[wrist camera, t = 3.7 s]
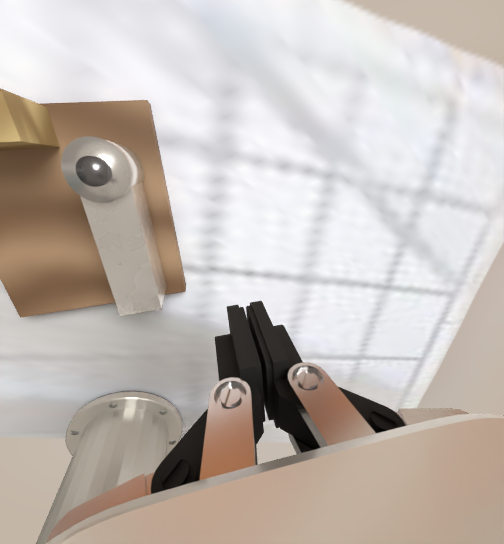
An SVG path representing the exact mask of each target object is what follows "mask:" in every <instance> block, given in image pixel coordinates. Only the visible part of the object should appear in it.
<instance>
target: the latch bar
mask: <svg viewBox="0 0 504 544" xmlns="http://www.w3.org/2000/svg"><path fill="white" fill-rule="evenodd" d="M61 168H62V172H63V175H64V178H65V179H66V181H67V183H68V184H69V186H70V187H71V188H72V189H73V190H74V191H75V192H76V193H77V194H79V195H80V197H81V200H82V203H83V206H84V209H85V212H86V215H87V218H88V221H89V224H90V227H91V230H92V233H93V236H94V239H95V242H96V245H97V248H98V251H99V254H100V257H101V260H102V263H103V266H104V269H105V272H106V275H107V278H108V281H109V284H110V287H111V290H112V293H113V296H114V299H115V302H116V305H117V308H118V311H119V314H120V316H125V315H131V314H137V313H143V312H149V311H155V310H161V309H162V305H163V301H164V296H165V292H166V287H167V286H166V282H165V278H164V274H163V269H162V265H161V261H160V256H159V252H158V248H157V243H156V239H155V235H154V231H153V226H152V222H151V218H150V213H149V209H148V205H147V200H146V196H145V192H144V187H143V183H142V182H143V179H144V170H143V166H142V163H141V161H140V159H139V158H138V156H137V155H136V154H135V153H134V152H133V151H132V150H131V149H129V148H128V147H126V146H124V145H121V144H118V143H114V142H111V141H108V140H104V139H101V138H97V137H91V136H86V137H80V138H77V139H75V140H73V141H72V142H70V143H69V144H68V145H67V146H66V148H65V149H64V151H63V154H62V158H61Z"/></svg>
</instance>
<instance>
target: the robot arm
mask: <svg viewBox="0 0 504 544" xmlns="http://www.w3.org/2000/svg"><path fill="white" fill-rule="evenodd" d="M246 311H247V318H246V315H245V311H244V308H243V307H240V308H239V306H238V305H233V306H227V312H228V320H229V328H230V334H228V335H222V336H217V337H215V344H216V354H217V363H218V373H219V382H218V383H217V384H216V385H215V386H214V387H213V389H212V390H211V393H210V397H209V405H208V409H207V410H206V411H205V412H204V414H203V415H202V416H201V417H200V418H199V419H198V420H197V422H196V423H195V424H194V425H193V426H192V427H191V429H190V430H189V431H188V432H187V433H186V434H185V435H184V437H183V438H182V439H181V440H180V438H181V432H182V420H181V417H180V414H179V412H178V411H177V409H176V408H175V407H174V406H173V405H172V404H171V403H170V402H168V401H167V400H165V399H164V398H161V397H159V396H156V395H153V394H149V393H145V392H135V391H131V392H119V393H113V394H109V395H106V396H103V397H100V398H97V399H95V400H93V401H91V402H89V403H88V404H87V405H85V406H84V407H83V408H81V409H80V410H79V411H78V412H77V413H76V415H75V416H74V418H73V419H72V421H71V423H70V425H69V427H68V430H67V432H66V444H67V448H68V450H69V451H70V453H71V455H72V456H73V457H72V459H71V462H70V464H69V466H68V469H67V471H66V474H65V476H64V478H63V481H62V483H61V486H60V488H59V490H58V493H57V495H56V497H55V500H54V503H53V505H52V507H51V509H50V512H49V514H48V516H47V519H46V521H45V524H44V526H43V529H42V531H41V533H40V535H39V538H38V540H37V543H36V544H504V415H498V414H469V413H467V412H464V411H462V410H458V409H452V408H451V409H450V408H449V409H448V408H444V409H443V408H440V409H399V410H398V412H394V411H393V410H391V409H389V408H388V407H386V406H383V405H381V404H378V403H376V402H374V401H371V400H369V399H366V398H364V397H362V396H359V395H357V394H354V393H352V392H350V391H347V390H345V389H342V388H340V387H338V386H337V385H336V384H335V383H334V382H333V381H332V379H331V378H330V377H329V376H328V374H327V373H326V372H325V371H324V370H323V369H322V368H321V367H319V366H317V365H315V364H312V363H304V362H302V360H301V358H300V356H299V354H298V352H297V350H296V348H295V347H294V345H293V343H292V341H291V339H290V337H289V335H288V333H287V331H286V329H285V327H284V326H283V325H277V326H273V325H272V322H271V320H270V318H269V316H268V314H267V312H266V309H265V307H264V305H263V303H262V301H258V302H251V303H250V306H246ZM264 405H265V408H266V412H267V416H268V419H269V420H273V419H274V423H275V426H276V428H279V427H280V429H282V430H284V431H285V432H287V433H289V438H290V441H291V443H292V445H293V447H294V449H295V451H296V453H297V454H296V455H293V456H289V457H285V458H281V459H277V460H274V461H270V462H266V463H262V464H259V465H258V464H257V448H256V444H257V443H258V441H259V439H260V438H261V436H262V434H263V433H264V429H263V422H265V410H264ZM179 440H180V441H179Z"/></svg>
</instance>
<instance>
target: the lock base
mask: <svg viewBox="0 0 504 544" xmlns="http://www.w3.org/2000/svg"><path fill="white" fill-rule="evenodd" d="M86 136H91V137H97V138H101V139H104V140H108V141H111V142H114V143H118V144H121V145H124V146H126V147H128V148H129V149H131V150H132V151H133V152H134V153H135V154H136V155H137V156H138V158H139V159H140V161H141V163H142V166H143V170H144V179H143V182H142V183H143V187H144V192H145V196H146V200H147V205H148V209H149V213H150V218H151V222H152V226H153V231H154V235H155V239H156V243H157V248H158V252H159V256H160V261H161V265H162V269H163V274H164V278H165V282H166V286H167V287H166V292H165V295H166V294H172V293H179V292H185V291H186V283H185V278H184V273H183V267H182V262H181V257H180V252H179V247H178V242H177V237H176V232H175V227H174V222H173V217H172V212H171V207H170V202H169V197H168V191H167V186H166V181H165V176H164V171H163V166H162V161H161V156H160V151H159V146H158V141H157V136H156V131H155V126H154V121H153V115H152V110H151V105H150V103H149V102H148V101H147V100H135V101H106V102H78V103H49V104H38V103H35V102H33V101H30V100H28V99H25V98H23V97H20V96H18V95H15V94H13V93H10V92H8V91H5V90H3V89H0V279H1V281H2V283H3V285H4V287H5V289H6V291H7V293H8V295H9V296H10V298H11V300H12V302H13V304H14V306H15V308H16V310H17V312H18V314H19V316H20V317H26V316H33V315H39V314H45V313H52V312H58V311H65V310H71V309H77V308H84V307H90V306H96V305H103V304H109V303H115V299H114V296H113V293H112V290H111V287H110V284H109V281H108V278H107V275H106V272H105V269H104V266H103V263H102V260H101V257H100V254H99V251H98V248H97V245H96V242H95V239H94V236H93V233H92V230H91V227H90V224H89V221H88V218H87V215H86V212H85V209H84V206H83V203H82V200H81V197H80V195H79V194H77V193H76V192H75V191H74V190H73V189H72V188H71V187H70V186H69V184H68V183H67V181H66V179H65V178H64V175H63V172H62V168H61V158H62V154H63V151H64V149H65V148H66V146H67V145H68V144H69V143H70V142H72V141H73V140H75V139H77V138H80V137H86Z"/></svg>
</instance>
